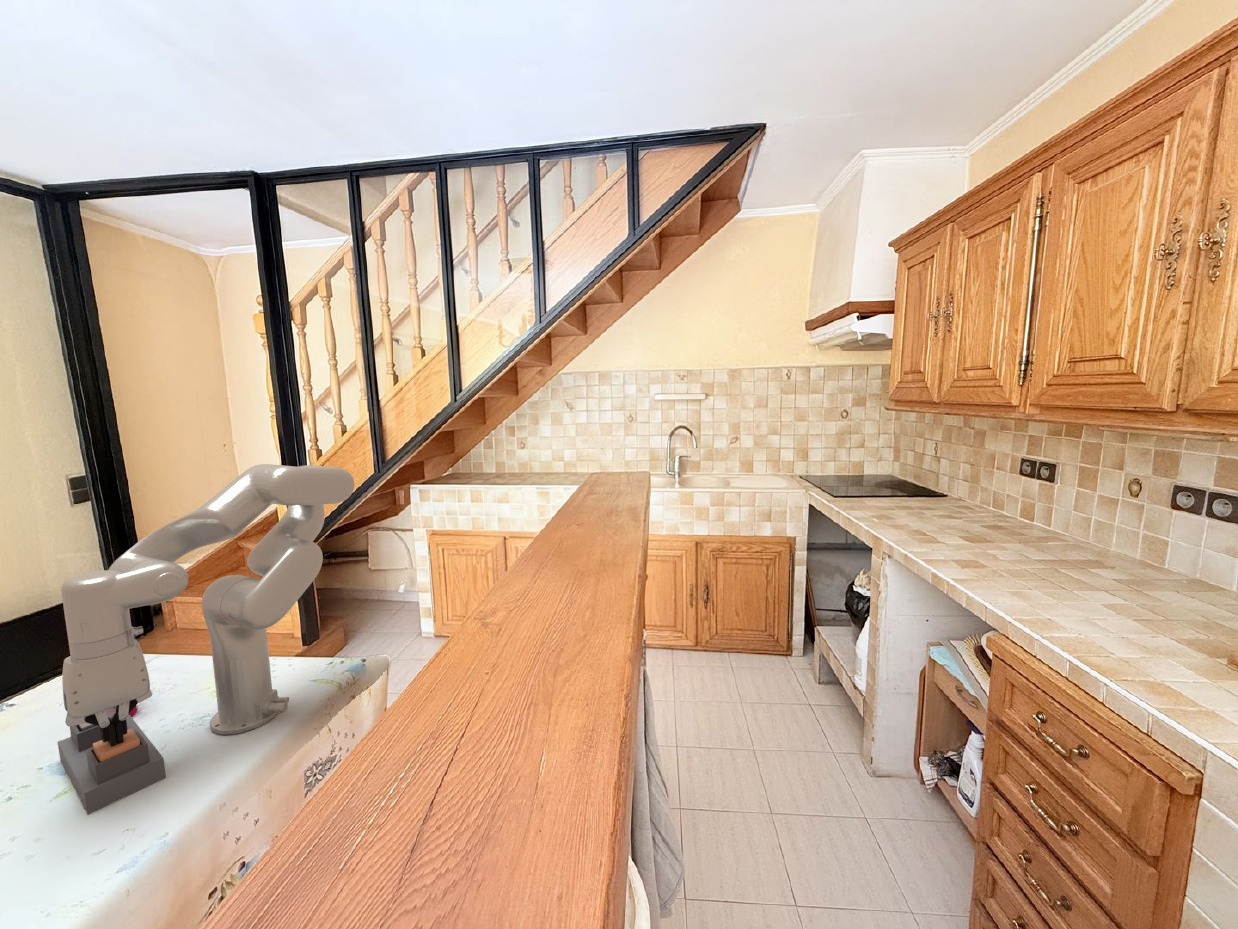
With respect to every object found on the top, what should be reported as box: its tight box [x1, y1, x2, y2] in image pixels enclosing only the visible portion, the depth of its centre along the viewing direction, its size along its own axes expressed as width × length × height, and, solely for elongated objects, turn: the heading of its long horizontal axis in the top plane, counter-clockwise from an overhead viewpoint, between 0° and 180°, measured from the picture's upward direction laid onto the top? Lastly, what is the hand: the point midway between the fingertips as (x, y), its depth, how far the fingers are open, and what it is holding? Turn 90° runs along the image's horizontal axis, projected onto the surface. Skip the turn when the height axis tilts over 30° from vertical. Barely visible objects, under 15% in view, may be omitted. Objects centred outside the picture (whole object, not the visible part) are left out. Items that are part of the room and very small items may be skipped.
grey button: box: [77, 707, 115, 732], centre depth 96 cm, size 5×5×3 cm
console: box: [57, 707, 167, 816], centre depth 93 cm, size 22×10×8 cm, turn 56°
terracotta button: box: [93, 729, 140, 763], centre depth 89 cm, size 5×5×3 cm
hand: (115, 741), depth 88 cm, fingers closed
